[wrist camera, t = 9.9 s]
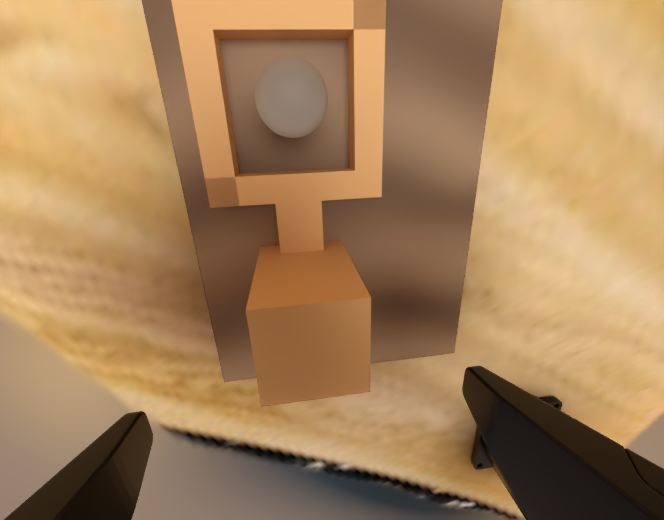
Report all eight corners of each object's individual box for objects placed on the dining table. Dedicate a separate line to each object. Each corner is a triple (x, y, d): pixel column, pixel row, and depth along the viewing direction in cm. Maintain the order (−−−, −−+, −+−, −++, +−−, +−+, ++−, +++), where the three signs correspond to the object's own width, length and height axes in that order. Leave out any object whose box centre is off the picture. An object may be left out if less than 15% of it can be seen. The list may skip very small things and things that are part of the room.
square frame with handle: (372, 305, 17) (413, 385, 12) (237, 320, 16) (212, 413, 11) (377, 2, 12) (453, -111, 7) (180, 0, 11) (78, -131, 6)
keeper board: (442, 338, 21) (507, 421, 15) (228, 364, 19) (202, 469, 13) (488, -50, 13) (661, -208, 7) (142, -60, 12) (-14, -273, 6)
